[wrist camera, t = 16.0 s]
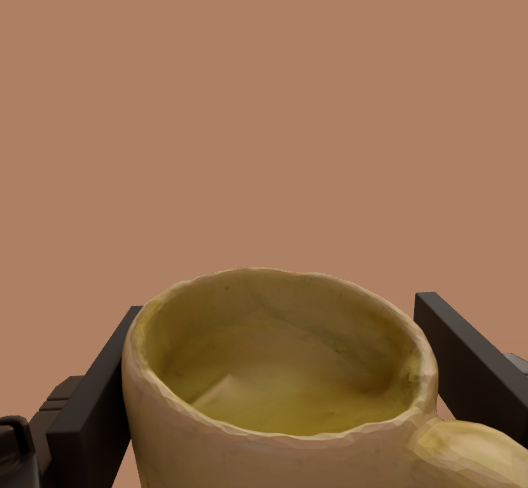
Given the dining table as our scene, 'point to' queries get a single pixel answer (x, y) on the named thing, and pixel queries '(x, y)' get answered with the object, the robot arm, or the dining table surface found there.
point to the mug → (295, 391)
